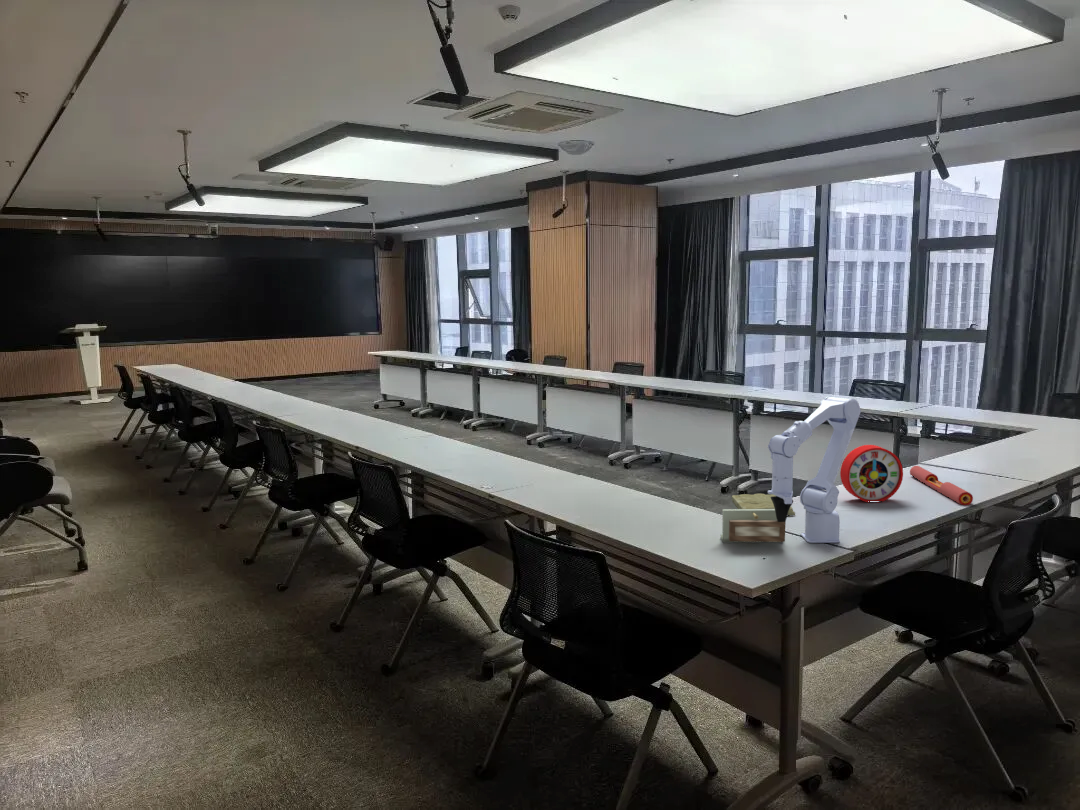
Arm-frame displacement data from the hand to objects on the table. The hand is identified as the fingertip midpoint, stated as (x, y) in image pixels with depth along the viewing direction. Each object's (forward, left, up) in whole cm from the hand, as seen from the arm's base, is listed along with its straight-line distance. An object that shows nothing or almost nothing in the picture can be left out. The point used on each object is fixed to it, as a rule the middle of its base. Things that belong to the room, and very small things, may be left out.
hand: (781, 521), depth 216 cm
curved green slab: (+7, -6, -8) cm, 12 cm away
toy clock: (-45, -51, -8) cm, 68 cm away
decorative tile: (-5, -42, -9) cm, 43 cm away
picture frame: (+7, 0, -6) cm, 9 cm away
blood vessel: (-75, -66, -9) cm, 100 cm away
